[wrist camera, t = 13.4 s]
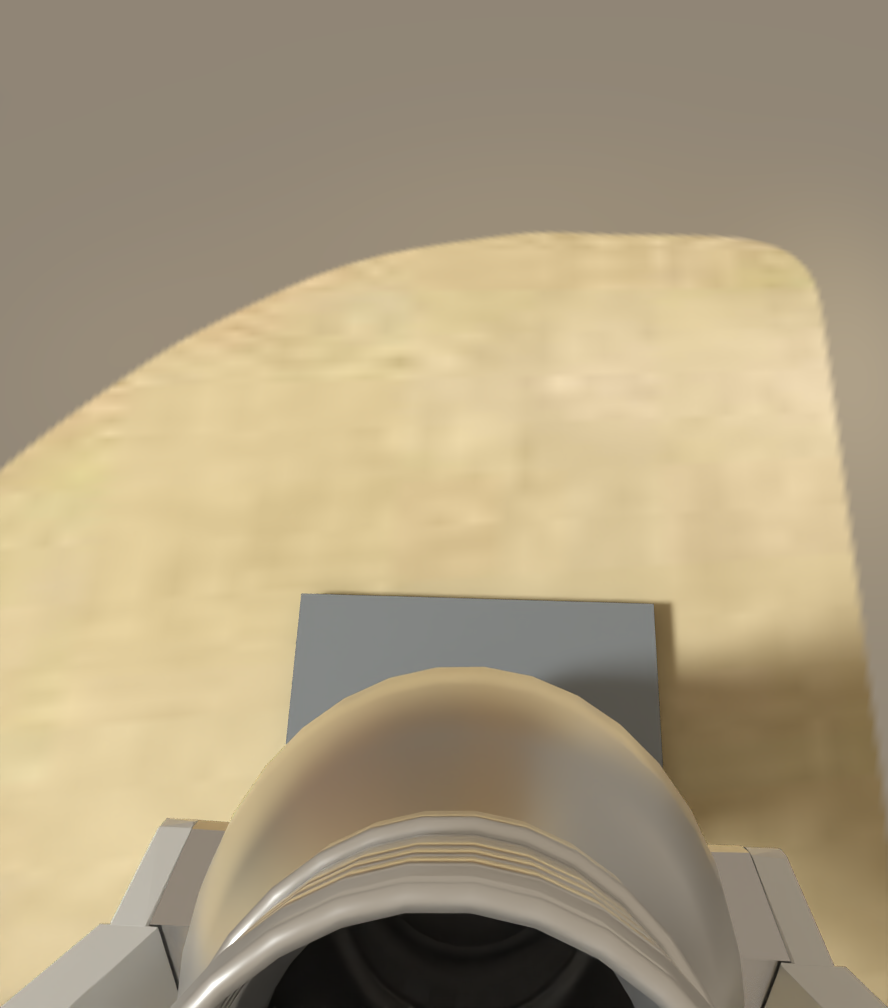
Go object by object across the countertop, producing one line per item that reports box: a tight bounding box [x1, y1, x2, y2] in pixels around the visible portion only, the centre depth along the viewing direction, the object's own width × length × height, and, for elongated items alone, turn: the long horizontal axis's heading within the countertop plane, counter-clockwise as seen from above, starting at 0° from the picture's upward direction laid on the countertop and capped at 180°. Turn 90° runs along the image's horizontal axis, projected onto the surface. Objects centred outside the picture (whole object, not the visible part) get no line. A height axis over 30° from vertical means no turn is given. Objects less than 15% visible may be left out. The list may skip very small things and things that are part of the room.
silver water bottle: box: [170, 667, 745, 1008], centre depth 12 cm, size 6×7×20 cm
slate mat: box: [286, 594, 663, 768], centre depth 23 cm, size 14×13×1 cm
